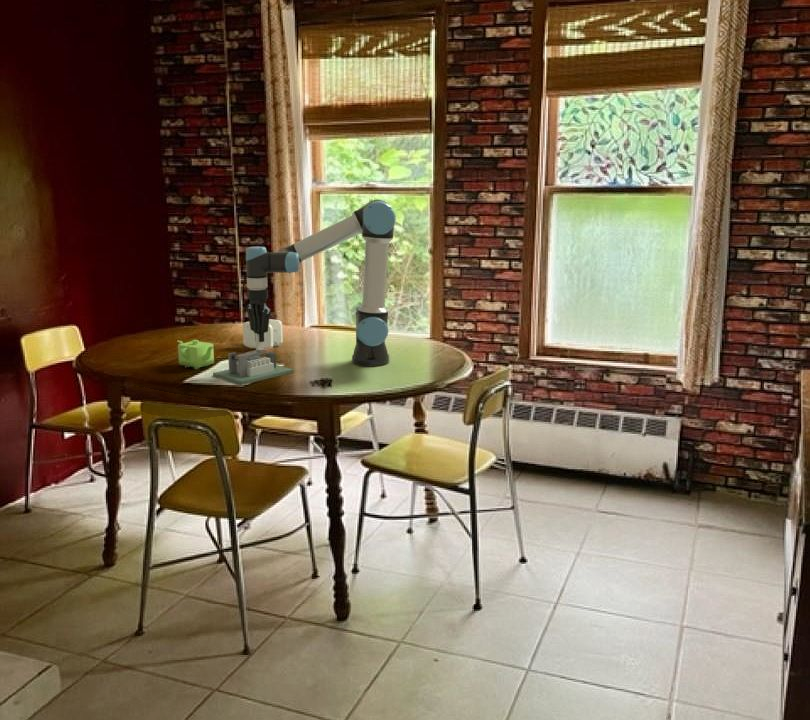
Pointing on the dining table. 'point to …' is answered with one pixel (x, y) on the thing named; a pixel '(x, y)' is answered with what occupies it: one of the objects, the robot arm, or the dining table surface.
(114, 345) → the dining table surface
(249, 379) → the heatsink board
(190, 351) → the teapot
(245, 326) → the cable organizer
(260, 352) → the orange-tipped flat strip
